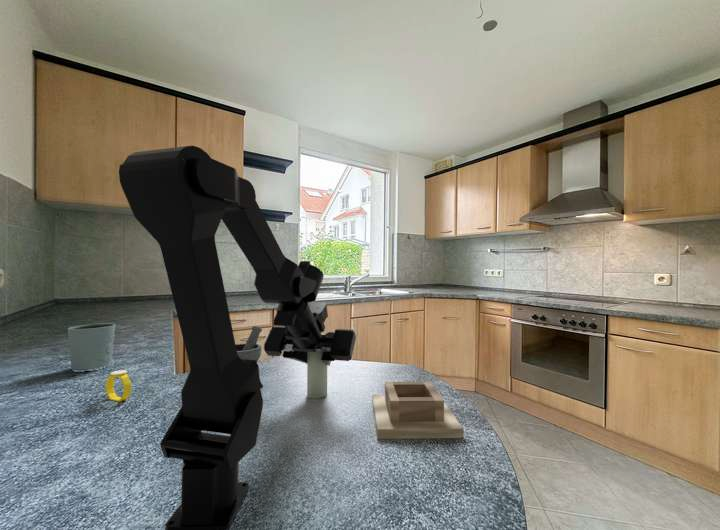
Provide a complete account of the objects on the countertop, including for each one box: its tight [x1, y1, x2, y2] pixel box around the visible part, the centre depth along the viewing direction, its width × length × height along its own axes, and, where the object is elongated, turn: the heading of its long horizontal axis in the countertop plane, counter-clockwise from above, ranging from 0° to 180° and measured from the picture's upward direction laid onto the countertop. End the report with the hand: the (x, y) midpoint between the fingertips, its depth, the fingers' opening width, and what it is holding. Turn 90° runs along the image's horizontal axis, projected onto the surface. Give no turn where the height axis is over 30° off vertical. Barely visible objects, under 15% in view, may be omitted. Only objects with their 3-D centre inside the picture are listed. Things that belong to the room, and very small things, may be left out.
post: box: [306, 333, 328, 400], centre depth 66 cm, size 4×4×13 cm
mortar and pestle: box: [235, 325, 263, 363], centre depth 81 cm, size 11×9×12 cm
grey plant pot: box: [67, 322, 116, 370], centre depth 85 cm, size 10×10×12 cm
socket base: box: [371, 381, 464, 440], centre depth 55 cm, size 14×14×5 cm
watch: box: [105, 369, 132, 403], centre depth 63 cm, size 6×3×6 cm, turn 71°
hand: (319, 362), depth 67 cm, fingers closed on post, 4 cm apart
